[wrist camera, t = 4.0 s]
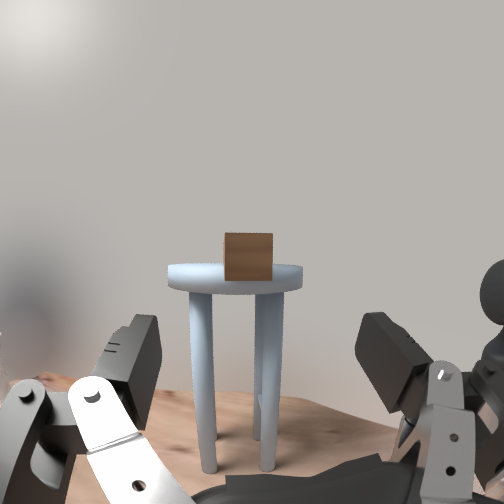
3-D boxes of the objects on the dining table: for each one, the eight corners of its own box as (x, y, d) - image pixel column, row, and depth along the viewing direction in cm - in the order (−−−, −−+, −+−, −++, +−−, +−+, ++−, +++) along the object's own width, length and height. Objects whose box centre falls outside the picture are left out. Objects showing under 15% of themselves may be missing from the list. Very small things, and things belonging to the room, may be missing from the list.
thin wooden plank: (223, 263, 44) (223, 243, 44) (243, 263, 45) (243, 243, 45) (224, 281, 18) (224, 232, 18) (272, 280, 19) (272, 233, 19)
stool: (188, 424, 46) (179, 262, 45) (279, 422, 47) (285, 263, 47) (178, 486, 28) (152, 269, 28) (301, 481, 30) (322, 270, 29)
